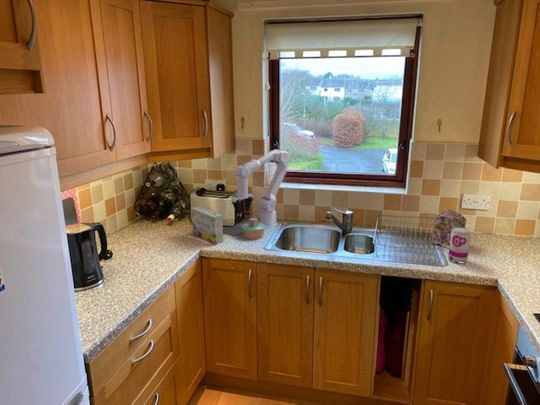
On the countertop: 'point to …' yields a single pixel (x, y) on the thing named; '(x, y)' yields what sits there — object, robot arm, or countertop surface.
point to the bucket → (254, 234)
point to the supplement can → (459, 245)
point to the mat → (233, 230)
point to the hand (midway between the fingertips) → (242, 212)
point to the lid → (253, 225)
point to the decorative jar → (446, 226)
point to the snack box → (207, 225)
